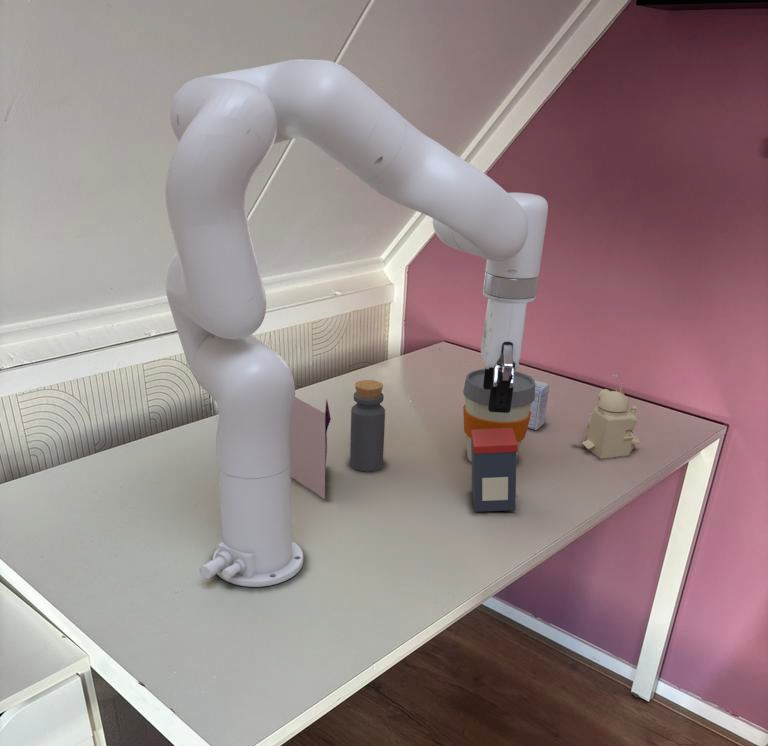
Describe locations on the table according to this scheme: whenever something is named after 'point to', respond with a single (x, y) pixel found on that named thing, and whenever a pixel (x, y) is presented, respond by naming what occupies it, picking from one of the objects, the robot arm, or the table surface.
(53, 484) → the table surface
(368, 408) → the bottle
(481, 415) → the reusable coffee cup
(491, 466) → the red-lidded grey box
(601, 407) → the robot
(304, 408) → the greeting card
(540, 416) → the medicine box
